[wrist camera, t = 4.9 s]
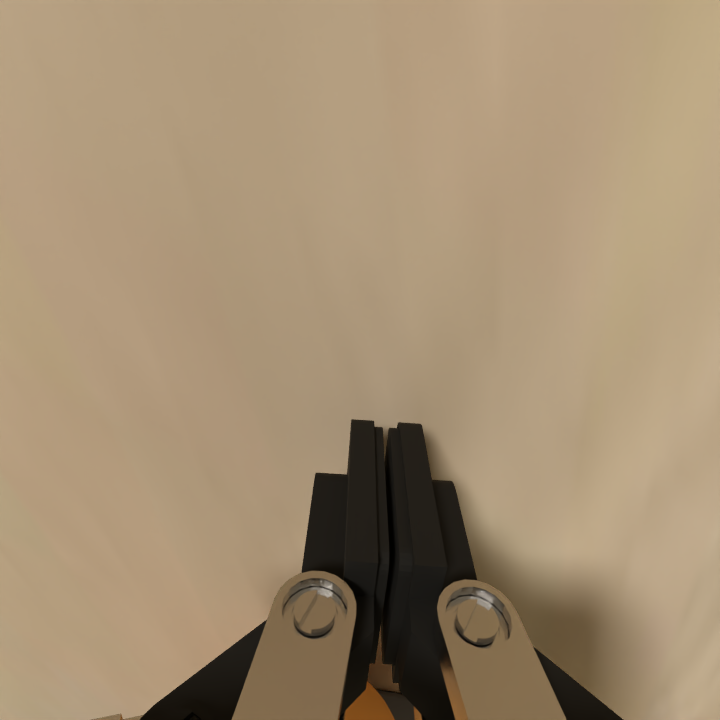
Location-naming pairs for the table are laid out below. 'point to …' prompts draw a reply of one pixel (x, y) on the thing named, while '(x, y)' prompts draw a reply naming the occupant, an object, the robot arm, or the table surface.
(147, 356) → the table surface
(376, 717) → the ball
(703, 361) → the table surface
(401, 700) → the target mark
